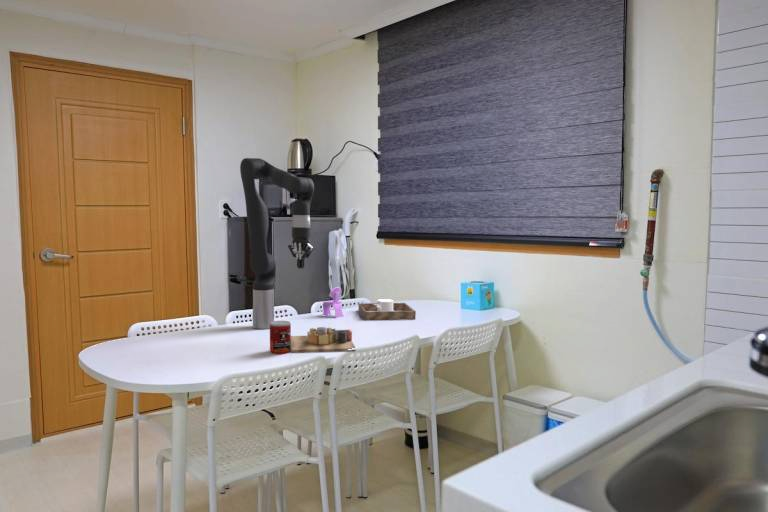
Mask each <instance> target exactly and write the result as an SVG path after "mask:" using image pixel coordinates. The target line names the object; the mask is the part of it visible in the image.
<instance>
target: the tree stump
mask: <svg viewBox="0 0 768 512" xmlns="http://www.w3.org/2000/svg"><path fill="white" fill-rule="evenodd" d="M376 303H377V304H373V305H377V306H376V307H377V311H376V312H381V311H393V303H394V300H393V299H388V298H387V299H385V298H383V299H377V302H376Z"/></svg>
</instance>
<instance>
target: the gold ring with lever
mask: <svg viewBox="0 0 768 512" xmlns="http://www.w3.org/2000/svg"><path fill="white" fill-rule="evenodd" d="M326 328H327V334H324V335H318V332H317V328H315V327H312V328H309V331H307V334H306V336H307V341H308V343H310V344H316V345H317V344H319V345H325V344H332V343H335V342H336V341H340V332H345V341H351V340H352V341H353V330H352V329H336V328H333V327H326Z"/></svg>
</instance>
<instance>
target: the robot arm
mask: <svg viewBox="0 0 768 512" xmlns="http://www.w3.org/2000/svg"><path fill="white" fill-rule="evenodd" d="M239 168H240V169H239V171H240V177H241V182H242V187H243V194H244V201H245V209H246V221H247V227H248V236H249V237H248V239H249V249H250V251H249V253H250V254H249V256H250V259H249V260H250V261H249V264H250V269H251V270H252V272H253V273H254V274H255V279H254V281H253V283H252V329H256V330H257V329H258V330H267V329H269V330H270V323H271V322H273V321H275V283H276V274H277V273H276V272H277V268H276V267H277V265H276V263H277V262H276V259H275V257H274V256H273V255H272V254H271V253H268V248H267V238H268V232H269V226H270V223H269V221H270V220H269V210H268V206H267V205H266V203H265V202H264V200H263V198H262V197H261V195H260V194H259V192H258V190H257V186H256V183H255V181H256V180H270V181H271V183H273V185H275V186H277V187H279V188H280V189H281V188H282V189H284V190H286V191H287V192H289V193H290V194H293V195H300V196H299V199H297V200H295V201H293V202H292V217H291V238H292V243H291V244H288V245H287V248H288V249H289V252H290V253H291V255H292V257H293V258H295V259H296V267H297V269H304V268H305V259H308V258H309V257H310V256H311V254H312V252H313V250H315V247H314V246H313V245H311V244H310V243H311V241H310V238H311V215H310V214H311V213H310V212H311V203H312V200H313V196H314V193H315V184H314V182H313V180H312V178H309V177H303V176H302V177H301V176H300V177H299V176H296V175H295V174H293V173H291V172H288V171H285V170H283V169H280V168H277V167H275V165H272V164H271V163H269V162H268V161H266V160H264V159H262V158H259V157H258V158H254V157H253V158H252V157H246V158H243V159H242V160H241V161H240V166H239Z"/></svg>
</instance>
